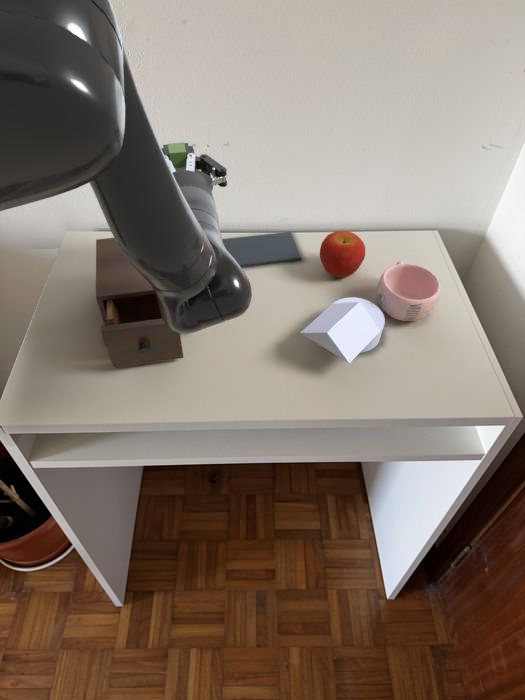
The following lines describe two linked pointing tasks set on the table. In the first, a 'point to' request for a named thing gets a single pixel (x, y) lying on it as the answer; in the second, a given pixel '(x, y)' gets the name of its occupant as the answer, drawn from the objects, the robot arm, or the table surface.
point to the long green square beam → (177, 154)
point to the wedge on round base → (347, 327)
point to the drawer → (138, 332)
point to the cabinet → (116, 276)
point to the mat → (263, 249)
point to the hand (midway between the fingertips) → (175, 149)
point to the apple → (342, 253)
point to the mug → (408, 291)
